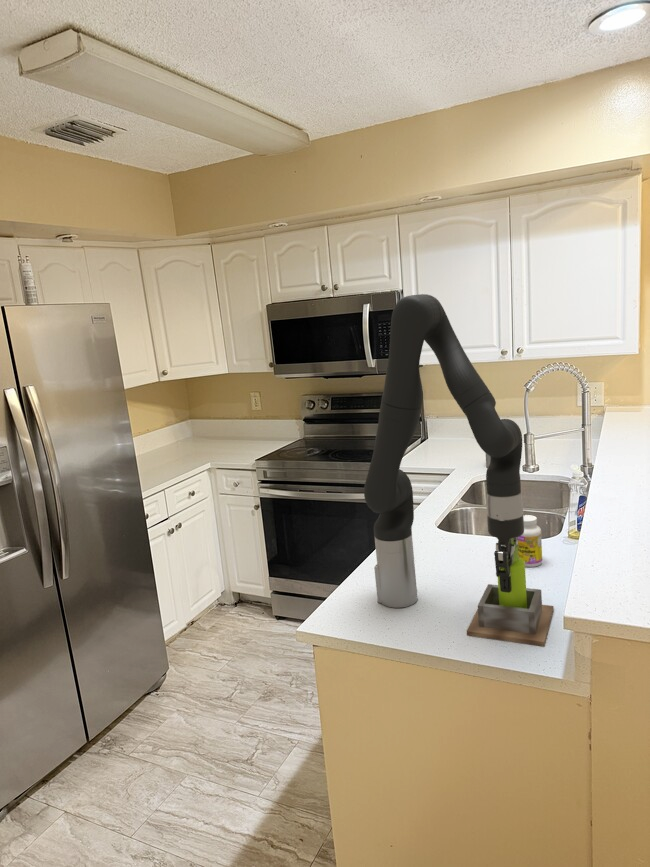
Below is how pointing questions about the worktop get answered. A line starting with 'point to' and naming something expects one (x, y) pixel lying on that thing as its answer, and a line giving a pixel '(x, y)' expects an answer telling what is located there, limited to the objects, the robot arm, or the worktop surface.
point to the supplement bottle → (530, 542)
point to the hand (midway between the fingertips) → (508, 584)
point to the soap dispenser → (515, 584)
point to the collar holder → (512, 619)
